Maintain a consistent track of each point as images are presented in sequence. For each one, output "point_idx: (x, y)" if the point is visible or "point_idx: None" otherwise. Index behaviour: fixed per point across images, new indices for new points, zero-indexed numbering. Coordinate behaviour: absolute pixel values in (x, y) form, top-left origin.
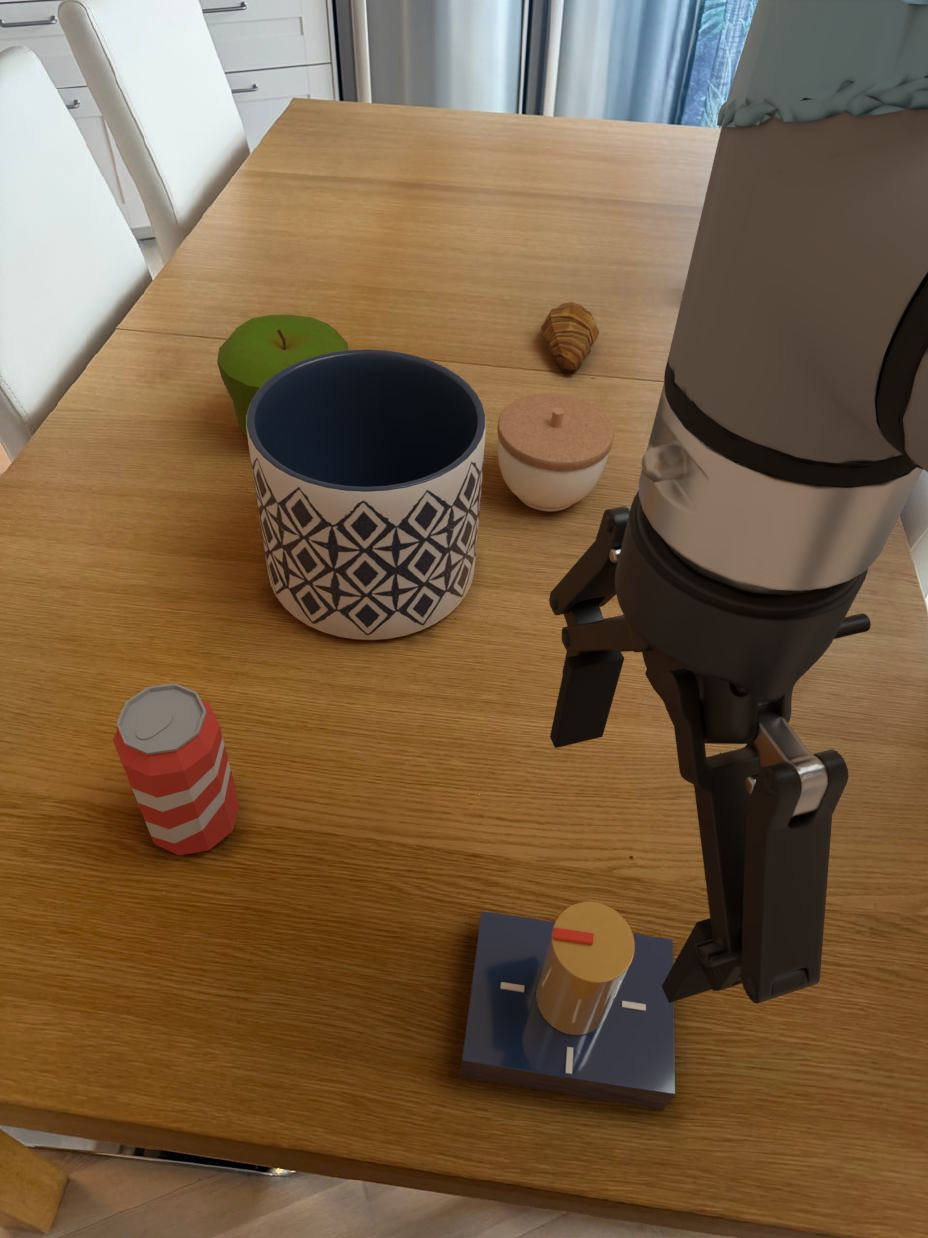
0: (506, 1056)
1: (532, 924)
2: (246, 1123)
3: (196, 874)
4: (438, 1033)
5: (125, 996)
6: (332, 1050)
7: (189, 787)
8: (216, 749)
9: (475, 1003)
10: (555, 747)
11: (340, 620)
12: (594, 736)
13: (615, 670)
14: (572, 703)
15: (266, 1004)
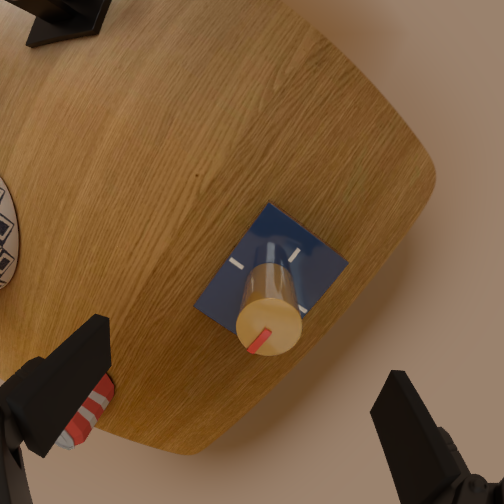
0: None
1: (215, 283)
2: (240, 415)
3: (123, 390)
4: None
5: (170, 427)
6: (227, 381)
7: (88, 422)
8: None
9: None
10: (110, 366)
11: (5, 275)
12: (107, 329)
13: (37, 400)
14: (74, 406)
15: (194, 394)
